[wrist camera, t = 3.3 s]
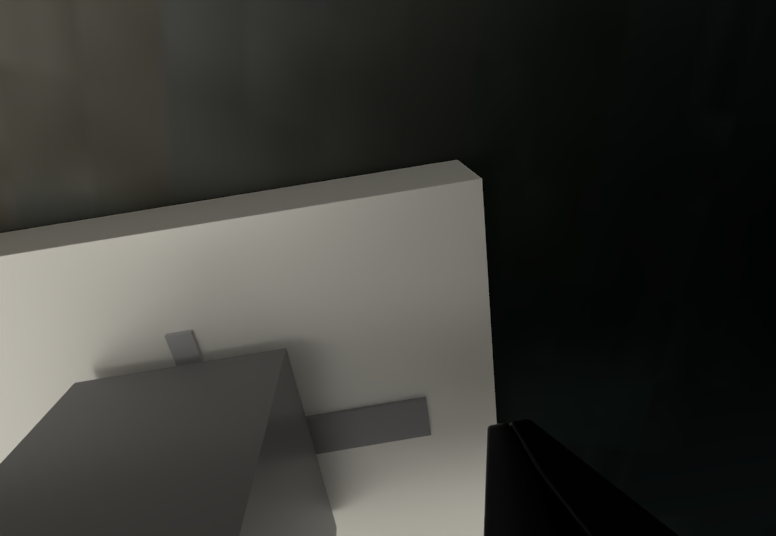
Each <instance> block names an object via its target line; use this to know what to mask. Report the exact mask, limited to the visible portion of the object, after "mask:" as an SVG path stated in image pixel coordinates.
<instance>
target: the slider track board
mask: <svg viewBox="0 0 776 536" xmlns="http://www.w3.org/2000/svg"><path fill="white" fill-rule="evenodd" d="M283 348H286V349H287V353H288V357H289V360H290V364H291V367H292V371H293V374H294V378H295V381H296V385H297V388H298V392H299V396H300V399H301V403H302V406H303V410H304V413H305V417H306V420H307V424H308V427H309V431H310V435H311V438H312V442H313V445H314V449H315V452H316V456H317V459H318V463H319V466H320V470H321V474H322V477H323V481H324V484H325V488H326V491H327V495H328V498H329V502H330V505H331V509H332V513H333V516H334V520H335V523H336V527H337V531H336V536H484V510H485V483H486V455H487V429H488V426H490V425H494V424H497V419H496V402H495V385H494V369H493V352H492V335H491V319H490V302H489V285H488V269H487V252H486V236H485V219H484V202H483V186H482V178H481V177H479V176H478V175H477V174H475V173H474V172H473V171H471V170H470V169H469V168H468V167H466V166H465V165H464V164H462V163H461V162H460V161H458V160H452V161H446V162H440V163H433V164H427V165H421V166H415V167H409V168H402V169H396V170H390V171H384V172H377V173H371V174H365V175H359V176H353V177H346V178H340V179H334V180H328V181H321V182H315V183H309V184H303V185H297V186H290V187H284V188H278V189H272V190H266V191H259V192H253V193H247V194H241V195H234V196H228V197H222V198H216V199H210V200H203V201H197V202H191V203H185V204H178V205H172V206H166V207H160V208H154V209H147V210H141V211H135V212H129V213H122V214H116V215H110V216H104V217H98V218H91V219H85V220H79V221H73V222H67V223H60V224H54V225H48V226H42V227H35V228H29V229H23V230H17V231H11V232H4V233H0V463H1V462H2V461H3V460H4V459H5V458H6V457H7V456H8V455H9V454H10V453H11V451H12V450H13V449H14V448H15V447H16V446H17V445H18V444H19V443H20V442H21V441H22V440H23V438H24V437H25V436H26V435H27V434H28V433H29V432H30V431H31V430H32V429H33V428H34V426H35V425H36V424H37V423H38V422H39V421H40V420H41V419H42V418H43V417H44V416H45V414H46V413H47V412H48V411H49V410H50V409H51V408H52V407H53V406H54V405H55V404H56V403H57V401H58V400H59V399H60V398H61V397H62V396H63V395H64V394H65V393H66V392H67V391H68V389H69V388H70V387H71V386H72V385H73V384H74V383H76V382H82V381H89V380H95V379H101V378H107V377H113V376H119V375H125V374H131V373H137V372H143V371H149V370H155V369H162V368H168V367H174V366H180V365H186V364H192V363H198V362H204V361H210V360H216V359H222V358H228V357H235V356H241V355H247V354H253V353H259V352H265V351H271V350H277V349H283Z"/></svg>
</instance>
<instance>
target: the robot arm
mask: <svg viewBox="0 0 776 536" xmlns="http://www.w3.org/2000/svg"><path fill="white" fill-rule="evenodd" d="M484 536H678V535H677V534H676V533H674V532H673V531H672V530H671V529H669V528H668V527H667V526H666V525H664V524H663V523H662V522H660V521H659V520H658V519H657V518H655V517H654V516H653V515H651V514H650V513H649V512H648V511H646V510H645V509H644V508H643V507H641V506H640V505H639V504H637V503H636V502H635V501H634V500H632V499H631V498H630V497H628V496H627V495H626V494H625V493H623V492H622V491H621V490H620V489H618V488H617V487H616V486H614V485H613V484H612V483H611V482H609V481H608V480H607V479H605V478H604V477H603V476H602V475H600V474H599V473H598V472H597V471H595V470H594V469H593V468H591V467H590V466H589V465H588V464H586V463H585V462H584V461H583V460H581V459H580V458H579V457H577V456H576V455H575V454H574V453H572V452H571V451H570V450H568V449H567V448H566V447H565V446H563V445H562V444H561V443H560V442H558V441H557V440H556V439H554V438H553V437H552V436H551V435H549V434H548V433H547V432H545V431H544V430H543V429H542V428H540V427H539V426H538V425H537V424H535V423H534V422H533V421H531V420H529V419H524V420H518V421H512V422H510V423H509V424H507V423H500V424H494V425H490V426H488V429H487V455H486V483H485V510H484Z"/></svg>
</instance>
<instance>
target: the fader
mask: <svg viewBox="0 0 776 536" xmlns="http://www.w3.org/2000/svg"><path fill="white" fill-rule="evenodd" d="M336 531H337V527H336V523H335V520H334V516H333V513H332V509H331V505H330V502H329V498H328V495H327V491H326V488H325V484H324V481H323V477H322V474H321V470H320V466H319V463H318V459H317V456H316V452H315V449H314V445H313V442H312V438H311V435H310V431H309V427H308V424H307V420H306V417H305V413H304V410H303V406H302V403H301V399H300V396H299V392H298V388H297V385H296V381H295V378H294V374H293V371H292V367H291V364H290V360H289V357H288V353H287V349H286V348H283V349H277V350H271V351H265V352H259V353H253V354H247V355H241V356H235V357H228V358H222V359H216V360H210V361H204V362H198V363H192V364H186V365H180V366H174V367H168V368H162V369H155V370H149V371H143V372H137V373H131V374H125V375H119V376H113V377H107V378H101V379H95V380H89V381H82V382H76V383H74V384H73V385H72V386H71V387H70V388H69V389H68V391H67V392H66V393H65V394H64V395H63V396H62V397H61V398H60V399H59V400H58V401H57V403H56V404H55V405H54V406H53V407H52V408H51V409H50V410H49V411H48V412H47V413H46V414H45V416H44V417H43V418H42V419H41V420H40V421H39V422H38V423H37V424H36V425H35V426H34V428H33V429H32V430H31V431H30V432H29V433H28V434H27V435H26V436H25V437H24V438H23V440H22V441H21V442H20V443H19V444H18V445H17V446H16V447H15V448H14V449H13V450H12V451H11V453H10V454H9V455H8V456H7V457H6V458H5V459H4V460H3V461H2V462H1V463H0V536H336Z"/></svg>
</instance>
